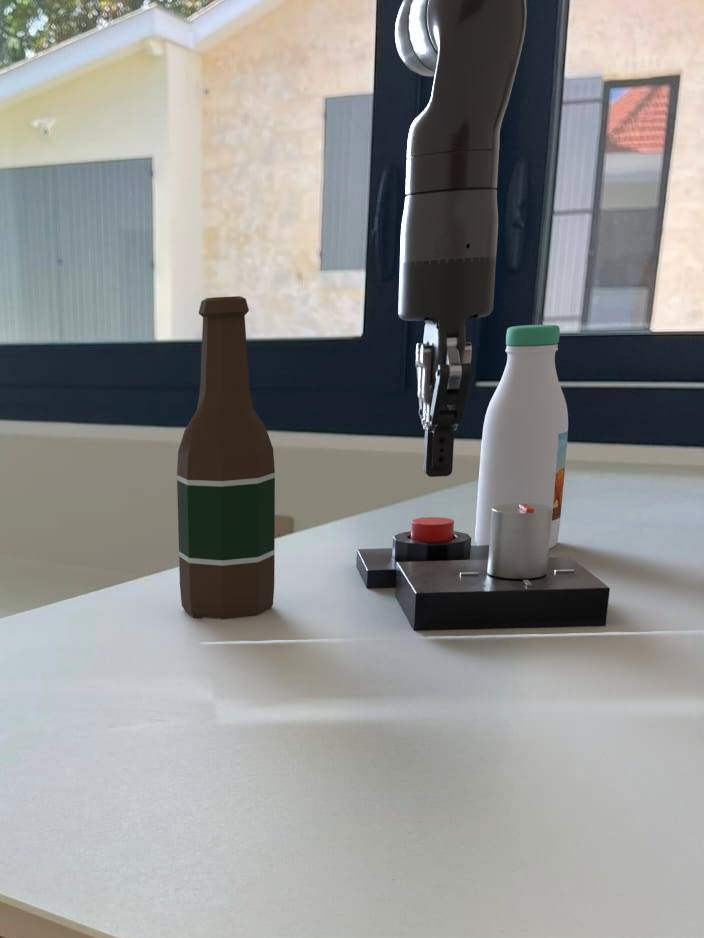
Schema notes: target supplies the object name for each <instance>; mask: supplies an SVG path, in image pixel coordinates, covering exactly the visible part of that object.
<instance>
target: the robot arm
mask: <svg viewBox="0 0 704 938" xmlns="http://www.w3.org/2000/svg"><path fill="white" fill-rule="evenodd" d="M527 13H528V12H527V0H402V2H401V5H400V7H399V10H398V14H397V17H396V21H395V29H394V38H395V45H396V50H397V52H398V55H399V58H400V59H401V61H402V62H403V63H404V64H405V66H406V67H407V68H408V69H409V70H410V71H412V72H414V73H415V74H417V75H420V76H423V77H428V78H433V84H432V88H431V89H432V90H431V96H430V99H429V102H428V104H427V106H426V107H425V108H424V110H422V112H420V113H419V114H418V115H417V116H416V117H415V118H414V120H413V121H412V123H411V124H410V127H409V131H408V136H407V144H406V145H407V146H406V163H405V164H406V165H405V193H404V194H405V198H404V206H403V213H402V219H401V226H400V227H401V228H400V247H399V249H400V251H399V275H398V276H399V278H398V280H399V281H398V308H397V315H398V317H399V319H401V320H402V321H406V322H411V321H412V322H420V321H421V322H423V321H424V323H425V325H424V332H423V340H422V342H421V343H416V345H415V346H416V347H415V368H416V378H417V398H418V406H419V408H418V415H419V419H420V420H421V426H422V429H423V430H424V447H423V472H424V473H425V475H426V476H427V477H429V478H437V477H438V478H439V477H449V476H451V474H452V472H453V468H454V467H453V465H454V464H453V463H454V446H455V431H457V430H458V426H459V425H461V424H462V421H463V419H464V411H465V406H466V402H467V398H468V397H467V396H468V393H469V387H470V382H471V378H472V375H473V367H472V363H471V362H472V350H473V346H472V342H467V340H466V339H467V337H466V326H465V325H466V322H467V320H469V319H475V318H476V319H477V318H485V317H488V316H490V315H491V313H492V312H493V310H494V299H495V283H496V265H497V264H496V263H497V252H498V251H497V249H498V247H497V246H498V234H499V209H498V190H497V188H498V175H499V160H500V158H499V157H500V143H501V142H500V141H501V140H500V135H501V127H502V123H503V120H504V116H505V113H506V110H507V107H508V104H509V101H510V97H511V93H512V90H513V89H512V88H513V86H514V82H515V77H516V74H517V69H518V66H519V63H520V58H521V53H522V49H523V45H524V40H525V34H526V26H527Z"/></svg>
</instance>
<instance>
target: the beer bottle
mask: <svg viewBox="0 0 704 938" xmlns="http://www.w3.org/2000/svg"><path fill="white" fill-rule="evenodd" d="M248 312H250V309H249V305H248V302H247V298H245V297H243V296H239V295H235V296H234V295H233V296H217V297H216V296H215V297H205V298H203V300H201V301H200V305H199V310H198V315H199V316H201V317H202V329H201V331H202V334H201V357H200V379H199V381H200V383H199V384H200V385H199V395H198V400H197V407H196V410H195V413H194V415H193V416H192V417H191V419H190V421H189V423H188V424H187V426H186V428H185V429H184V431H183V434H182V438H181V440H180V444H179V447H178V451H177V466H176V487H177V488H176V491H177V527H178V529H177V531H178V533H177V534H178V565H179V566H178V567H179V590H180V602H181V603H180V604H181V606H182V609H183V610H184V611H185V612H186V613H187V614H189V615H190V616H191V617H192V618H197V619H203V618H207V619H216V620H217V619H218V620H230V619H239V618H248V617H249V618H250V617H257V616H258V615H261V614H263V613H265V612H266V611H268V610H270V609H272V607H273V605H274V598H275V596H274V594H275V564H276V563H275V561H276V560H275V558H276V557H275V549H276V548H275V546H276V545H275V541H276V539H275V537H276V534H275V532H276V531H275V530H276V529H275V528H276V523H275V522H276V516H275V515H276V513H275V512H276V470H275V469H276V468H275V455H274V447H273V444H272V441H271V438H270V436H269V432H268V430H267V427H266V426H265V424H264V423H263V421H262V420H261V419H260V417H259V415H258V414H257V412H256V411H255V409H254V407H253V401H252V395H251V390H250V379H249V378H250V377H249V363H248V361H249V360H248V348H247V347H248V346H247V331H246V315H247V314H248Z"/></svg>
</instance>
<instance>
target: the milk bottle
mask: <svg viewBox="0 0 704 938" xmlns="http://www.w3.org/2000/svg"><path fill="white" fill-rule="evenodd" d="M560 331H561V328H560V326H559V325H558V324H557V325H556V324H528V325H515V326H510V327H508V328H507V330H506V335H505V344H506V348H505V353H506V355H507V357H506V359H507V360H506V365H505V367H504V371H503V373H502V376H501V379H500V381H499V383H498V385H497V387H496V389H495V391H494V393H493V395H492V397H491V399H490V401H489V403H488V406H487V409H486V413H485V416H484V421H483V427H482V436H481V446H480V457H479V470H478V471H479V473H478V484H477V496H476V497H477V500H476V513H475V529H474V542H475V544H476V546H478V545H489V542H490V529H491V515H492V508H493V507H494V506H497V505H502V504H512V503H532V504H542V505H547V506H550V507H552V509H553V510H552V521H551V532H550V543H549V550H550V549H553V548H554V547H556V545H557V543H558V542H559V536H560V535H559V534H560V527H561V515H562V505H563V495H564V484H565V475H566V472H565V470H566V462H567V450H568V435H569V414H568V405H567V402H566V401H567V400H566V398H565V394H564V392H563V389H562V388H561V384H560V381H559V378H558V373H557V368H556V362H555V361H556V358H555V357H556V353H557V351H558V350H559V348H558V346H559V341H560V333H561V332H560Z"/></svg>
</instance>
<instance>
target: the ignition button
mask: <svg viewBox="0 0 704 938" xmlns="http://www.w3.org/2000/svg"><path fill="white" fill-rule="evenodd" d="M410 523H411V524H410V525H411V526H410V531H411V540H415V541H426V542H439V541H448V540H453V531H455V530H454V528H455V520H454V519H452V518H448V517H441V516H440V517H439V516H435V517H434V516H428V517H418V518H414V519H412V520H411V522H410Z"/></svg>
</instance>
